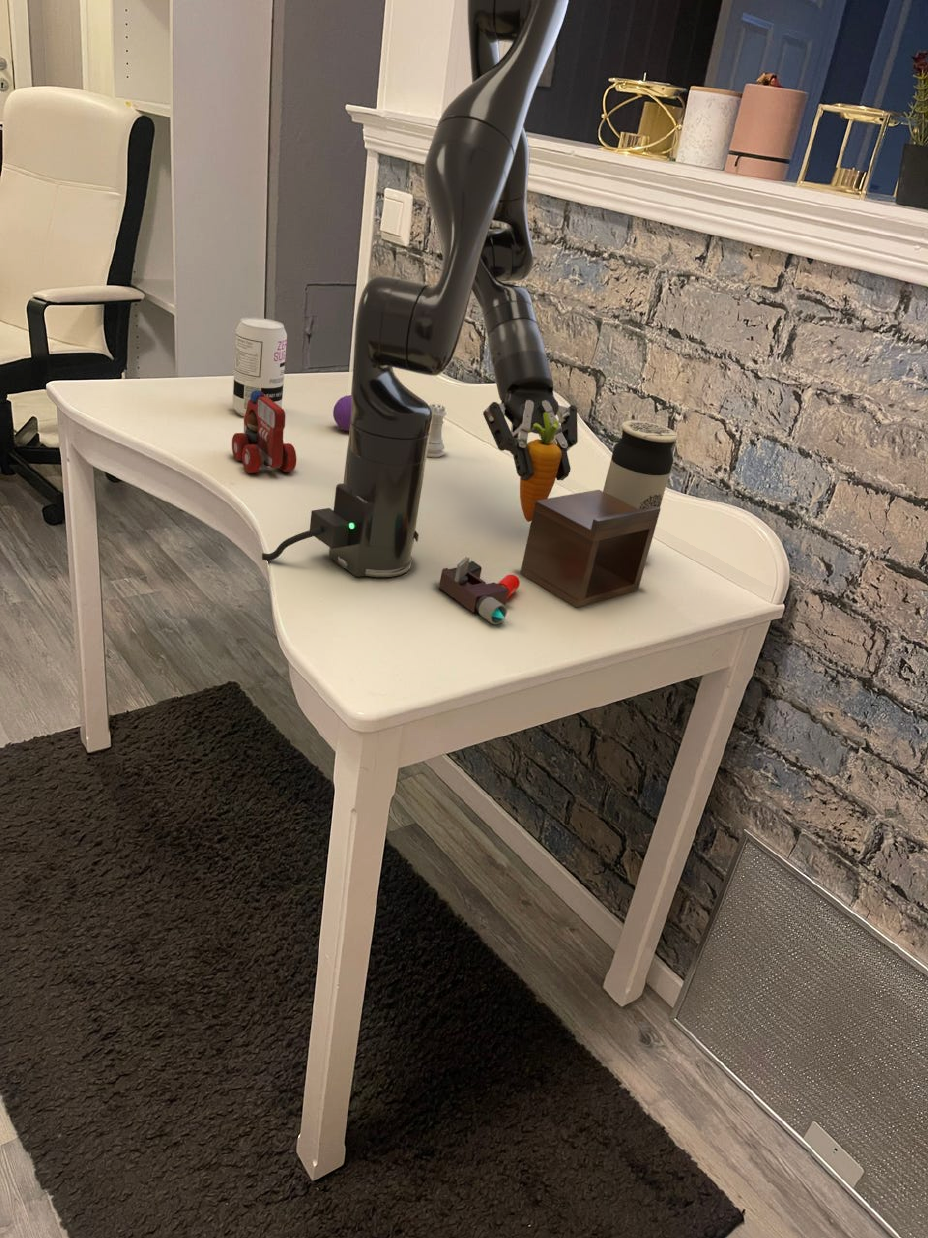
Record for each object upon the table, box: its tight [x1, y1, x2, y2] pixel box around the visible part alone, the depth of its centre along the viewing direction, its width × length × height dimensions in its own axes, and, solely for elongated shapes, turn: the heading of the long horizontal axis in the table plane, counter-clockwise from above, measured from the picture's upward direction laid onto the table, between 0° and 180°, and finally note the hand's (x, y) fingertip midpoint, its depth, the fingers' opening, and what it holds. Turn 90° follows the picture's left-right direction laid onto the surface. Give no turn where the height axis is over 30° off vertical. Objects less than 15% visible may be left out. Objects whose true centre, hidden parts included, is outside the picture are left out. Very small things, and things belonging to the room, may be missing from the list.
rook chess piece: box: [426, 403, 447, 459], centre depth 154 cm, size 4×4×8 cm
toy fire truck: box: [231, 390, 297, 474], centre depth 136 cm, size 7×12×10 cm, turn 30°
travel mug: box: [602, 420, 679, 510], centre depth 127 cm, size 8×8×18 cm
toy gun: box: [438, 557, 521, 625], centre depth 111 cm, size 10×12×5 cm
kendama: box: [332, 394, 352, 432], centre depth 163 cm, size 6×6×20 cm
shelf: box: [519, 489, 661, 609], centre depth 118 cm, size 12×10×11 cm
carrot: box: [519, 413, 562, 523], centre depth 126 cm, size 5×5×15 cm
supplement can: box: [231, 317, 288, 417], centre depth 156 cm, size 8×8×15 cm
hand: (545, 477), depth 125 cm, fingers closed on carrot, 5 cm apart
